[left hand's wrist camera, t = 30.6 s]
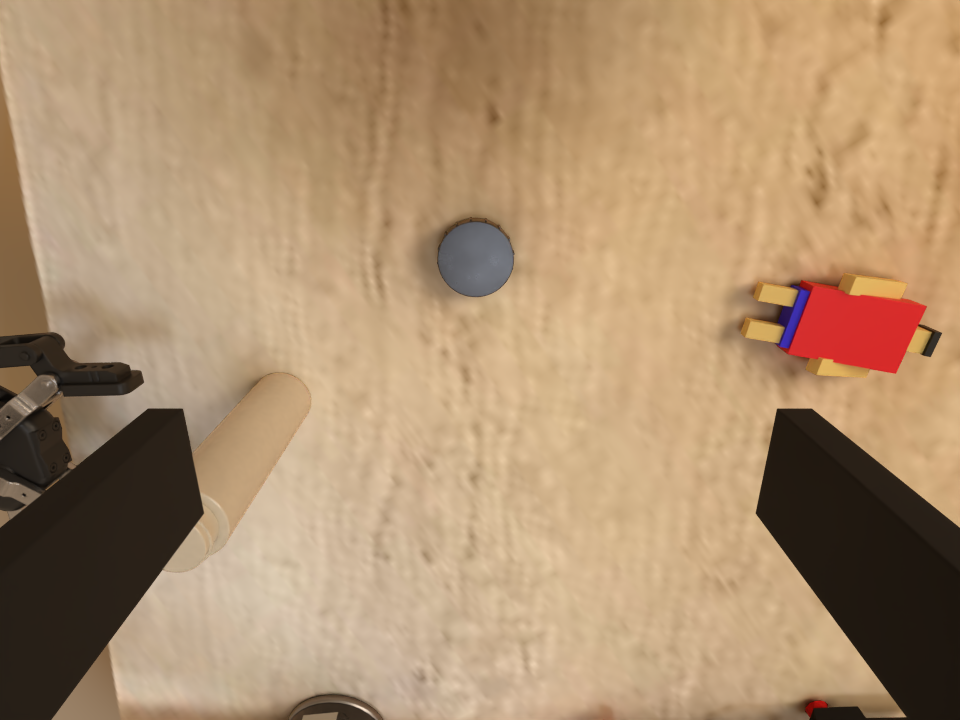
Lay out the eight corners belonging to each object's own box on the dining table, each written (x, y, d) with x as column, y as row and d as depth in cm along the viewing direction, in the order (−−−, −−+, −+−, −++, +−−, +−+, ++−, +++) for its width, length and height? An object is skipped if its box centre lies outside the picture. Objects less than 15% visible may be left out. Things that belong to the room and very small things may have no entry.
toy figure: (742, 361, 39) (916, 393, 39) (777, 262, 36) (962, 296, 36) (729, 349, 41) (893, 379, 41) (761, 255, 39) (936, 287, 39)
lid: (499, 206, 37) (500, 209, 36) (521, 278, 39) (523, 284, 37) (428, 231, 38) (425, 235, 36) (453, 300, 39) (452, 307, 38)
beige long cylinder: (309, 373, 41) (210, 509, 26) (312, 425, 43) (220, 582, 28) (251, 371, 41) (117, 505, 26) (256, 423, 43) (132, 579, 28)
